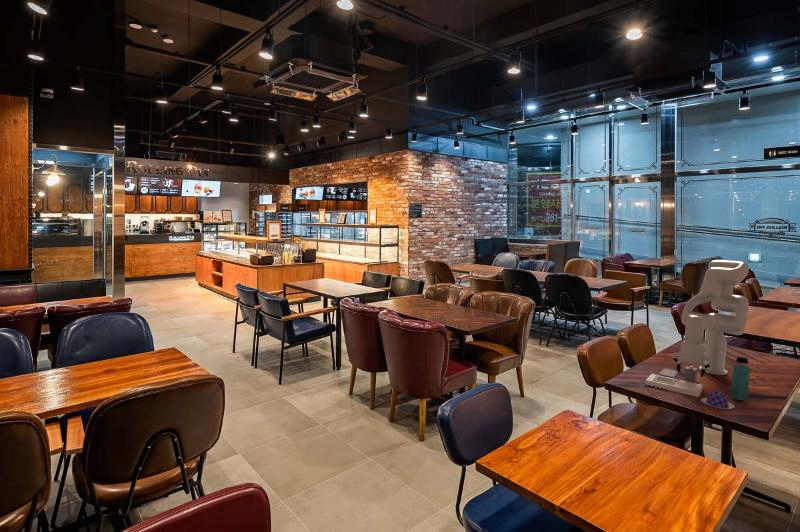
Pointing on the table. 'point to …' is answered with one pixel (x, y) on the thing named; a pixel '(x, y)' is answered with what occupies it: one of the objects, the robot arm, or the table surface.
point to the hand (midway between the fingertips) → (690, 374)
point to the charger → (690, 374)
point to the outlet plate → (675, 385)
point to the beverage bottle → (740, 379)
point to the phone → (668, 373)
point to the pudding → (717, 400)
